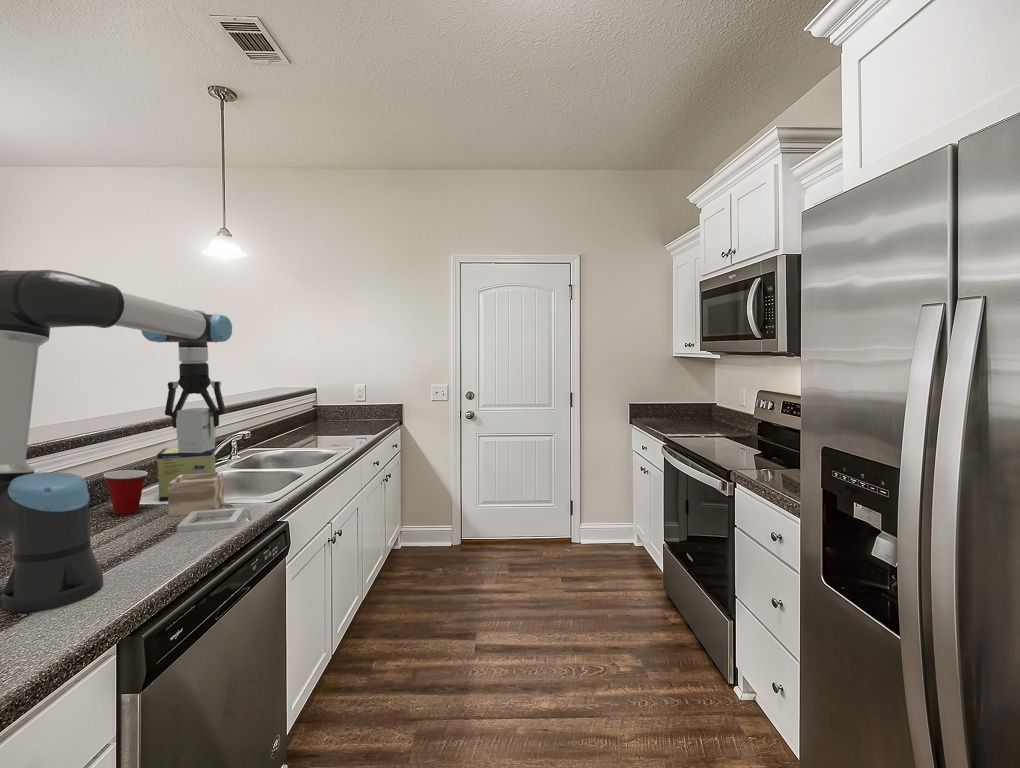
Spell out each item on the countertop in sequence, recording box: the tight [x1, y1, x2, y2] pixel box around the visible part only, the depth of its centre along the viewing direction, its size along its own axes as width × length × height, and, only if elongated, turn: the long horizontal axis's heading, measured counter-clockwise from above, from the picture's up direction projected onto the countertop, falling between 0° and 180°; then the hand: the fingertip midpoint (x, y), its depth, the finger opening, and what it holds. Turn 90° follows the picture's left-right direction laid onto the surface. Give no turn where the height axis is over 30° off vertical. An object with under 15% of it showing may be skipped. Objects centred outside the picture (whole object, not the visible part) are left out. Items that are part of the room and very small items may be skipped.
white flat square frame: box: [176, 507, 246, 533], centre depth 152 cm, size 14×14×2 cm
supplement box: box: [176, 407, 216, 453], centre depth 162 cm, size 7×7×13 cm
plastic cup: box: [103, 469, 149, 516], centre depth 160 cm, size 11×11×12 cm
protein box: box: [156, 447, 217, 502], centre depth 179 cm, size 10×16×16 cm
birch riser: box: [167, 471, 225, 517], centre depth 164 cm, size 12×12×10 cm
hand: (196, 438), depth 162 cm, fingers closed on supplement box, 8 cm apart
